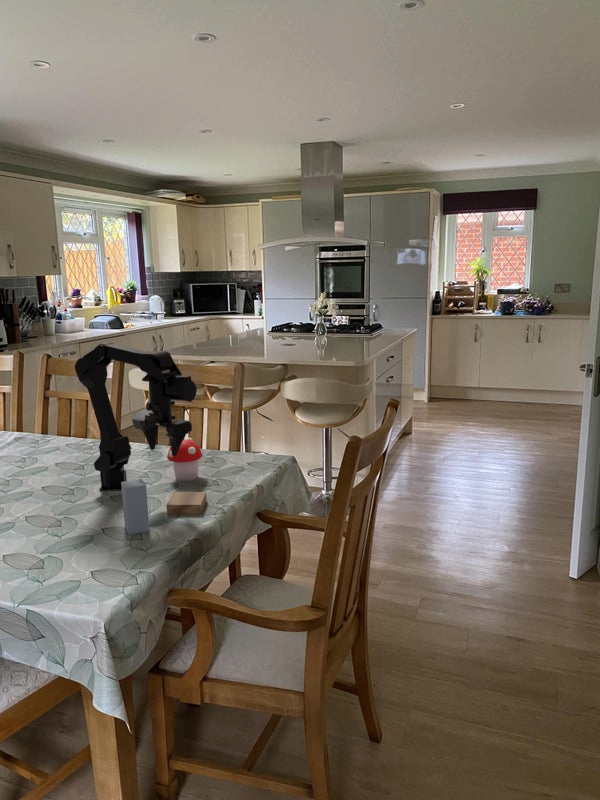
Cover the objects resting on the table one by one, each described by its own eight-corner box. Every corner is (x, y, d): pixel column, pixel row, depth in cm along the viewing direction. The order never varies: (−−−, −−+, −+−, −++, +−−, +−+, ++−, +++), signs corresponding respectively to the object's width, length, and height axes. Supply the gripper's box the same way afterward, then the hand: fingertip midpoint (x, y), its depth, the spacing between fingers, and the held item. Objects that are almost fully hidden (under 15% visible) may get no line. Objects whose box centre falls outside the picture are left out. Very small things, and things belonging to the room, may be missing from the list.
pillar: (124, 527, 150) (121, 482, 147) (144, 523, 152) (141, 478, 149) (128, 534, 145) (125, 488, 143) (149, 530, 148) (146, 484, 145)
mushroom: (188, 485, 178) (186, 446, 175) (160, 479, 183) (158, 442, 181) (210, 474, 187) (208, 437, 185) (183, 469, 192) (181, 433, 190)
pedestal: (167, 515, 158) (166, 504, 157) (174, 502, 166) (173, 492, 166) (201, 515, 157) (200, 504, 157) (206, 502, 166) (206, 492, 166)
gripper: (114, 398, 162) (118, 453, 165) (159, 408, 151) (162, 467, 154) (147, 391, 170) (150, 444, 174) (192, 400, 159) (194, 456, 163)
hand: (163, 452), depth 166 cm, fingers open, 9 cm apart
